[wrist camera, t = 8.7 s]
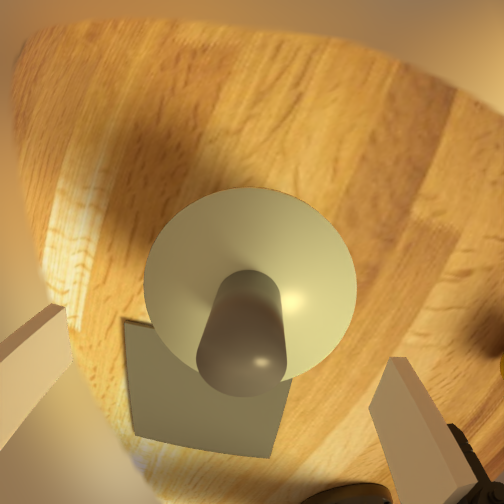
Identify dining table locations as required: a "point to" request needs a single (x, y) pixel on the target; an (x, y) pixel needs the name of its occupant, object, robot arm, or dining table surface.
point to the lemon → (502, 366)
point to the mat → (195, 402)
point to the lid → (249, 288)
